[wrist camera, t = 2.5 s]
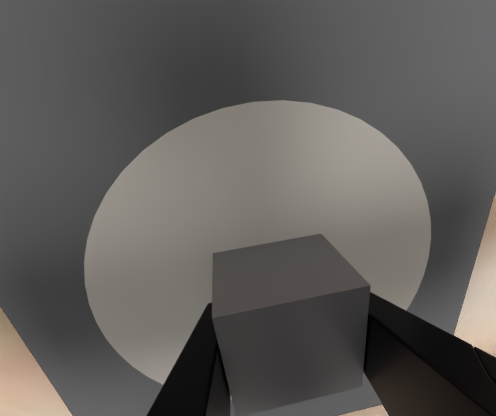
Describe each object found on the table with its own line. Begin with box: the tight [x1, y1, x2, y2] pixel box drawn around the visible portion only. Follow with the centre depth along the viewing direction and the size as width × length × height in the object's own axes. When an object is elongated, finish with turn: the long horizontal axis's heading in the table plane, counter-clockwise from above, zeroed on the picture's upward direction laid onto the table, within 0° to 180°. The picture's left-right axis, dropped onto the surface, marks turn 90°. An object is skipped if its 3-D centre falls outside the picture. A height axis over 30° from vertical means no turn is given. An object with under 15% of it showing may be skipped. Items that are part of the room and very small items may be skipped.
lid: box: [84, 100, 431, 416], centre depth 7 cm, size 12×12×3 cm
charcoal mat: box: [0, 0, 496, 416], centre depth 9 cm, size 20×18×1 cm
